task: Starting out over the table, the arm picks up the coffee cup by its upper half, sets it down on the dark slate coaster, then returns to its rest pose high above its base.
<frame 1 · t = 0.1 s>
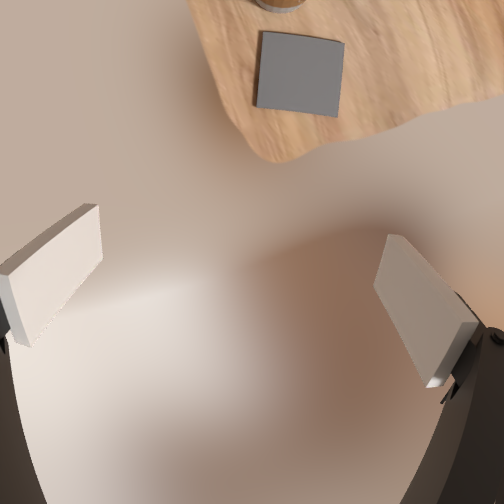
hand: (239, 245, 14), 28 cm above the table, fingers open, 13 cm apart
coaster: (300, 73, 34), on the table
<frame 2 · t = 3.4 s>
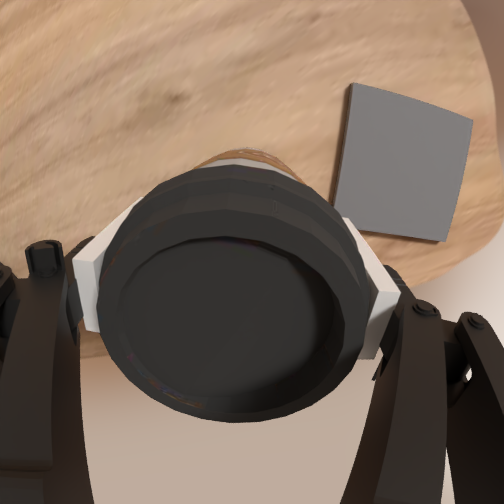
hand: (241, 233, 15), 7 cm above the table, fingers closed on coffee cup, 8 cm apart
coaster: (405, 167, 20), on the table
coffee cup: (246, 192, 22), on the table, touching gripper
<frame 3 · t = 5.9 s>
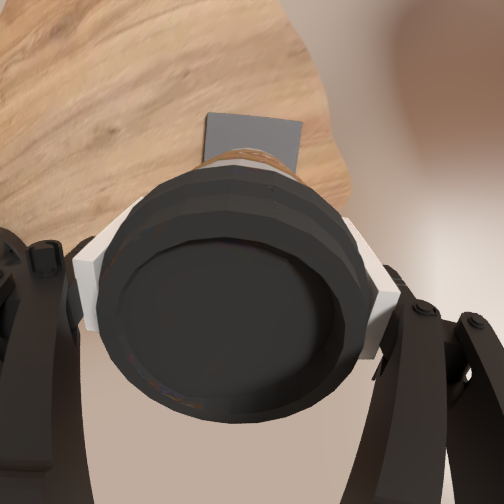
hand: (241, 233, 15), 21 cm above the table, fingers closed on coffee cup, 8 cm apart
coaster: (250, 160, 34), on the table
coffee cup: (246, 192, 22), point 14 cm above the table, touching gripper
when the fingers open (9 cm above the table, at t = 8.4 s): coffee cup drops 1 cm, resting on coaster.
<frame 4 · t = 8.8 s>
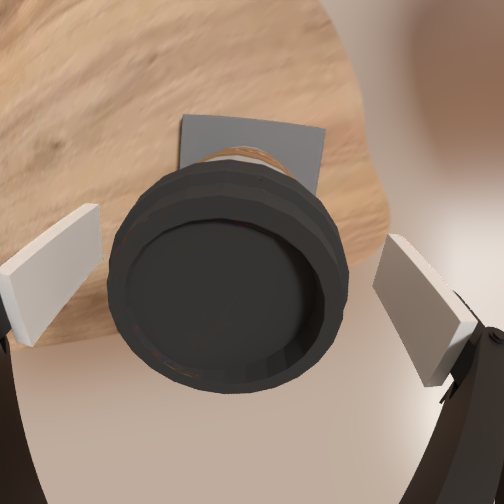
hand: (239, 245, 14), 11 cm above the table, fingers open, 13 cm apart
coaster: (247, 186, 23), on the table
coffee cup: (243, 188, 23), resting on coaster
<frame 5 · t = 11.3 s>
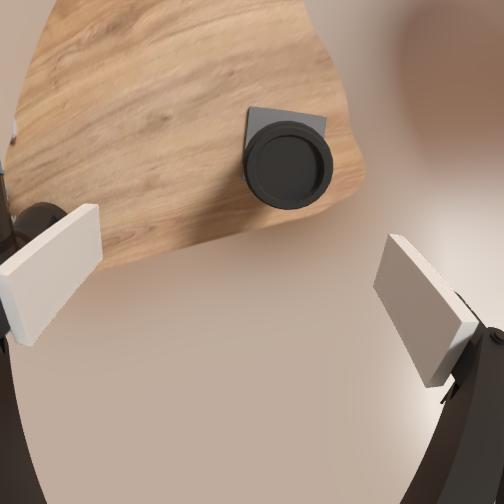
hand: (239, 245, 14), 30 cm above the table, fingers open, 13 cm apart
coaster: (283, 147, 41), on the table
coffee cup: (281, 148, 41), resting on coaster
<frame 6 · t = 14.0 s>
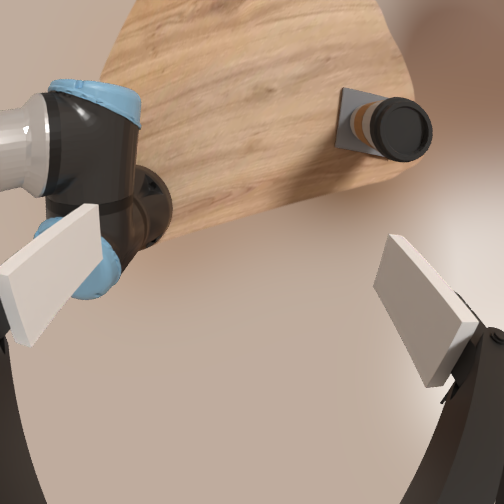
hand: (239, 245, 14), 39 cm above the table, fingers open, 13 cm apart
coaster: (367, 123, 46), on the table
coffee cup: (367, 123, 46), resting on coaster
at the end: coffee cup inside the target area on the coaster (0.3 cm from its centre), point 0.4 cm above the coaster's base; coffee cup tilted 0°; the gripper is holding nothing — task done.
